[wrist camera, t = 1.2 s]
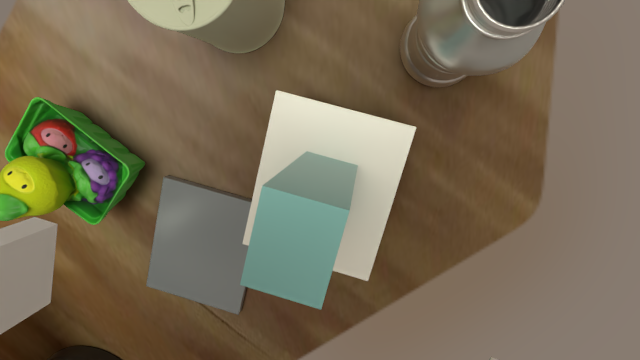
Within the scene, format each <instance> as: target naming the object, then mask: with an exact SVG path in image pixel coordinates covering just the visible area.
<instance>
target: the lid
mask: <svg viewBox="0 0 640 360" xmlns="http://www.w3.org/2000/svg"><path fill="white" fill-rule="evenodd" d="M415 130H416V127H415V126H411V125H407V124H404V123H400V122H396V121H392V120H388V119H385V118H381V117H377V116H373V115H370V114H366V113H362V112H358V111H354V110H351V109H347V108H343V107H339V106H336V105H332V104H328V103H324V102H320V101H317V100H313V99H309V98H305V97H301V96H298V95H294V94H290V93H286V92H283V91H278V90H276V93H275V98H274V103H273V107H272V112H271V116H270V121H269V125H268V130H267V134H266V139H265V143H264V148H263V152H262V157H261V162H260V166H259V171H258V175H257V180H256V184H255V189H254V193H253V198H252V202H251V207H250V211H249V216H248V221H247V225H246V230H245V234H244V239H243V243H242V244H245V245H248V246H249V247H248V251H247V256H246V260H245V265H244V269H243V274H242V278H241V282H240V285H242V286H246V287H249V288H252V289H255V290H259V291H262V292H265V293H268V294H272V295H275V296H278V297H281V298H285V299H288V300H291V301H295V302H298V303H301V304H304V305H308V306H311V307H314V308H317V309H321V308H322V305H323V302H324V298H325V295H326V291H327V288H328V284H329V281H330V277H331V274H332V271H336V272H339V273H342V274H346V275H349V276H352V277H356V278H359V279H362V280H366V281H368V280H369V276H370V273H371V270H372V267H373V264H374V261H375V257H376V254H377V251H378V248H379V245H380V241H381V238H382V235H383V232H384V229H385V226H386V222H387V219H388V216H389V213H390V210H391V206H392V203H393V200H394V197H395V194H396V191H397V187H398V184H399V181H400V178H401V175H402V172H403V168H404V165H405V162H406V159H407V156H408V152H409V149H410V146H411V143H412V140H413V137H414V133H415Z"/></svg>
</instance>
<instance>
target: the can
mask: <svg viewBox="0 0 640 360" xmlns="http://www.w3.org/2000/svg"><path fill="white" fill-rule="evenodd" d="M128 2H129V3H130V4H131V5H132V7H133V8H134V9H135V10H136V11H137V12H138V13H139V14H140V15H141V16H143V17H144V18H145V19H146V20H148V21H150V22H151V23H153V24H155V25H157V26H159V27H162V28H165V29H168V30H174V31H177V32H180V33H183V34H186V35H189V36H191V37H194V38H197V39H200V40H202V41H205V42H208V43H210V44H212V45H214V46H215V47H217V48H219V49H221V50H223V51H226V52H230V53H247V52H251V51H254V50H256V49H258V48H260V47H262V46H263V45H264V44H266V43H267V42H268V41H269V40H270V39H271V38H272V37H273V36H274V34H275V33H276V31H277V30H278V28H279V26H280V24H281V21H282V18H283V14H284V8H285V0H128Z"/></svg>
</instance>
